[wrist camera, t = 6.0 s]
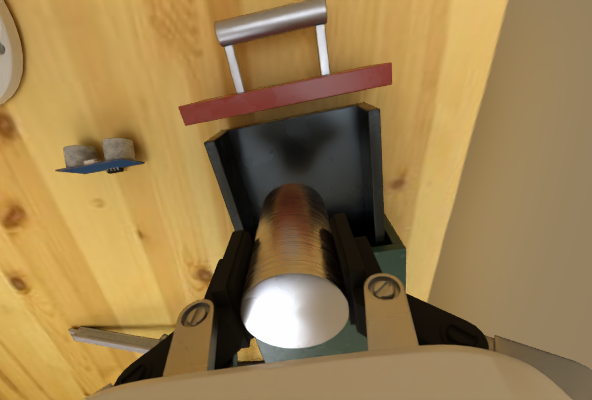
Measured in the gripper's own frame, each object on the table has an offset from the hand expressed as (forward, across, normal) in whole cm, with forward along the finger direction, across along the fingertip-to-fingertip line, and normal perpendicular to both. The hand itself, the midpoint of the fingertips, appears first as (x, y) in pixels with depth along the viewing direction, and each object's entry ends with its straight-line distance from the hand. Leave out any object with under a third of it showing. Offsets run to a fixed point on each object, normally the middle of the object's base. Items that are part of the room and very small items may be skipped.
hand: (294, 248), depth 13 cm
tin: (+4, 0, 0) cm, 4 cm away
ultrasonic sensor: (+13, +16, -4) cm, 21 cm away
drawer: (+12, -1, -1) cm, 12 cm away
